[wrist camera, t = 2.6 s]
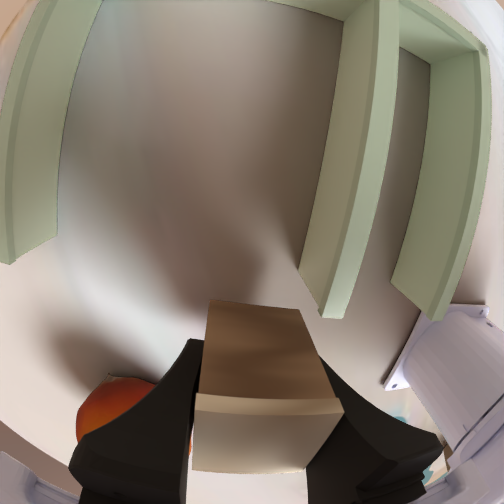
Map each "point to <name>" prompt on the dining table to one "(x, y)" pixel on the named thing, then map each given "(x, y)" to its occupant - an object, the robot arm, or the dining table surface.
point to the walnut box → (260, 393)
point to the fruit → (110, 402)
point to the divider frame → (335, 155)
